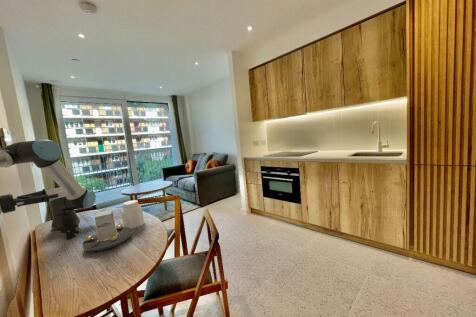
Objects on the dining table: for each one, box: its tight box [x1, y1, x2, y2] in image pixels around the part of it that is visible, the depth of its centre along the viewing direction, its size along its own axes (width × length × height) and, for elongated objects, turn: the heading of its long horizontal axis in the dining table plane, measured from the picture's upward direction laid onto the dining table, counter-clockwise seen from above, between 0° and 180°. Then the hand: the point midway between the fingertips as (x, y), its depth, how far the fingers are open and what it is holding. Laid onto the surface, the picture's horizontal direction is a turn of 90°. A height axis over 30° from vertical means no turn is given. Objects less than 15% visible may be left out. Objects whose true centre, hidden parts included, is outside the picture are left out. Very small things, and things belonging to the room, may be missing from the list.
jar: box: [121, 199, 145, 230], centre depth 131 cm, size 12×10×15 cm
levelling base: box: [82, 223, 133, 253], centre depth 111 cm, size 22×22×6 cm
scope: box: [59, 213, 81, 240], centre depth 123 cm, size 8×14×10 cm
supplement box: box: [94, 209, 116, 240], centre depth 110 cm, size 7×7×13 cm
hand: (65, 191), depth 102 cm, fingers open, 13 cm apart
